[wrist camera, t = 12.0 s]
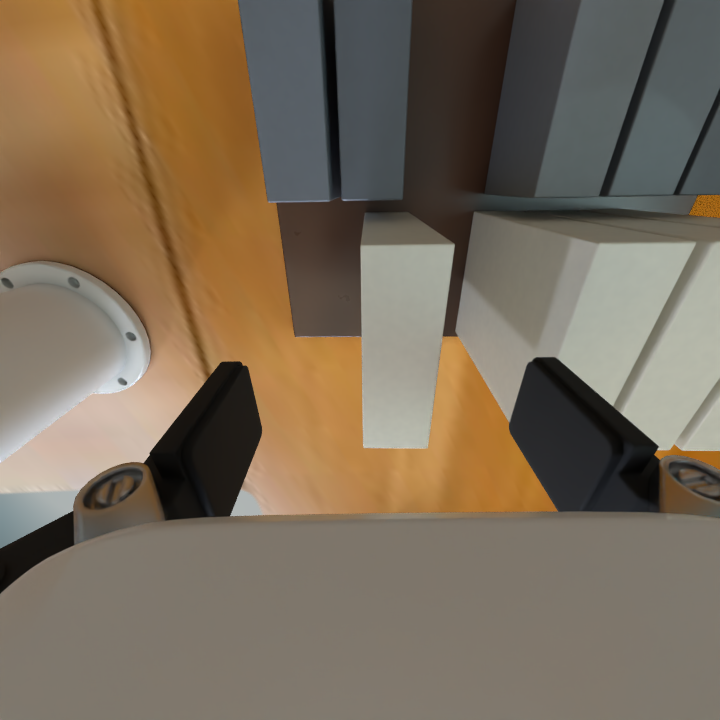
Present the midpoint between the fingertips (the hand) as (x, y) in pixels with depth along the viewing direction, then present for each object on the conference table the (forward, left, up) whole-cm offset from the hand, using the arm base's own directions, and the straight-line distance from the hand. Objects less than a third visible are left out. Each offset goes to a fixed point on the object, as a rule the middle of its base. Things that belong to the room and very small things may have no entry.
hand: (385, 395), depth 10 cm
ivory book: (+1, 0, -15) cm, 15 cm away
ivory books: (+12, 0, -15) cm, 19 cm away
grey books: (+6, +10, -15) cm, 19 cm away
